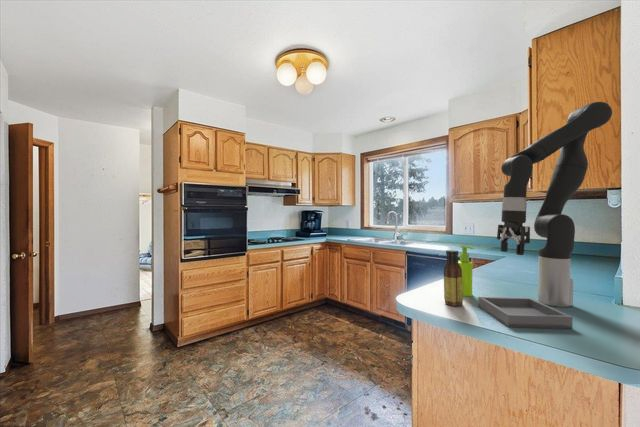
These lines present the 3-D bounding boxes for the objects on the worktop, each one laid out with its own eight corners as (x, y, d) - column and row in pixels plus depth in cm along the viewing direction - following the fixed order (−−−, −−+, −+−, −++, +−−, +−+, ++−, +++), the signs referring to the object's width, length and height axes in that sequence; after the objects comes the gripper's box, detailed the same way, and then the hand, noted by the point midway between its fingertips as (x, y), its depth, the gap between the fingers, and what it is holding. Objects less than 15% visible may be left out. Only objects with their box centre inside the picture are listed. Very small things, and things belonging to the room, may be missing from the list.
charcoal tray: (530, 307, 101) (530, 298, 101) (572, 328, 83) (572, 317, 83) (478, 306, 102) (478, 296, 102) (508, 327, 84) (508, 315, 84)
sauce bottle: (459, 301, 107) (459, 249, 107) (465, 307, 101) (466, 251, 101) (441, 301, 108) (441, 248, 108) (446, 306, 102) (447, 251, 101)
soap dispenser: (468, 297, 112) (468, 247, 112) (453, 293, 118) (453, 245, 118) (477, 295, 115) (478, 246, 115) (462, 291, 121) (462, 244, 121)
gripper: (538, 210, 99) (536, 256, 99) (510, 210, 113) (508, 250, 113) (517, 209, 99) (515, 255, 99) (492, 209, 113) (489, 250, 113)
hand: (511, 253), depth 106 cm, fingers open, 8 cm apart
